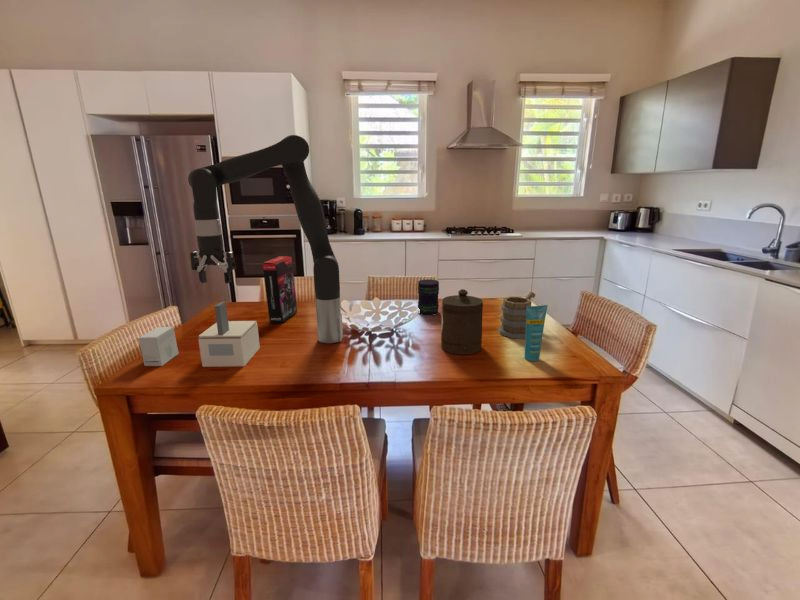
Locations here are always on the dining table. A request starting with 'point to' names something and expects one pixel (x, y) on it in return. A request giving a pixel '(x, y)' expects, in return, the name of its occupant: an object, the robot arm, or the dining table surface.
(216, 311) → the flap
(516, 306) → the tankard
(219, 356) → the carton
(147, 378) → the dining table surface
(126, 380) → the dining table surface
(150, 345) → the skincare box
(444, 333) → the wooden container
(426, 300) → the storage jar
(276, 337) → the dining table surface
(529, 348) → the tube
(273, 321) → the graphics card box
